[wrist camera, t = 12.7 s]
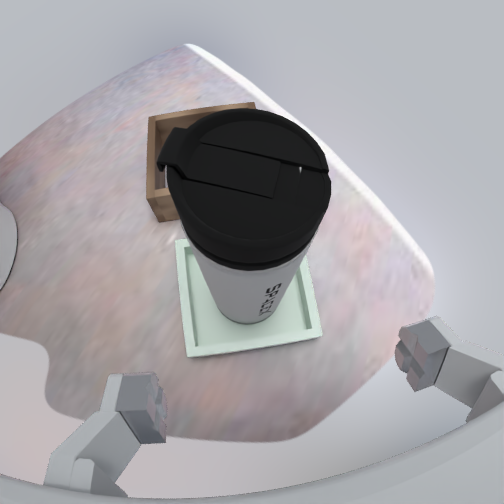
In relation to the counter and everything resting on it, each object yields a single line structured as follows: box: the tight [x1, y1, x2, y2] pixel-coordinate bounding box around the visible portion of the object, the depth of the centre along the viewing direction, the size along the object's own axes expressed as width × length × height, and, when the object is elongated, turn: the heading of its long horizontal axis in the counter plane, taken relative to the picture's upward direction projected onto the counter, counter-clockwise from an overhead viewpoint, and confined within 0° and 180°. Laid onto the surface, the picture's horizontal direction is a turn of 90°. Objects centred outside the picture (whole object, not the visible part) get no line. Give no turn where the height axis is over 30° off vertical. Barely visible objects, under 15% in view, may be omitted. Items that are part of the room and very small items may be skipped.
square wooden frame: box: [146, 102, 256, 222], centre depth 32 cm, size 12×11×5 cm
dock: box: [175, 239, 323, 358], centre depth 29 cm, size 12×11×2 cm
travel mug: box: [156, 108, 331, 325], centre depth 20 cm, size 6×7×20 cm
